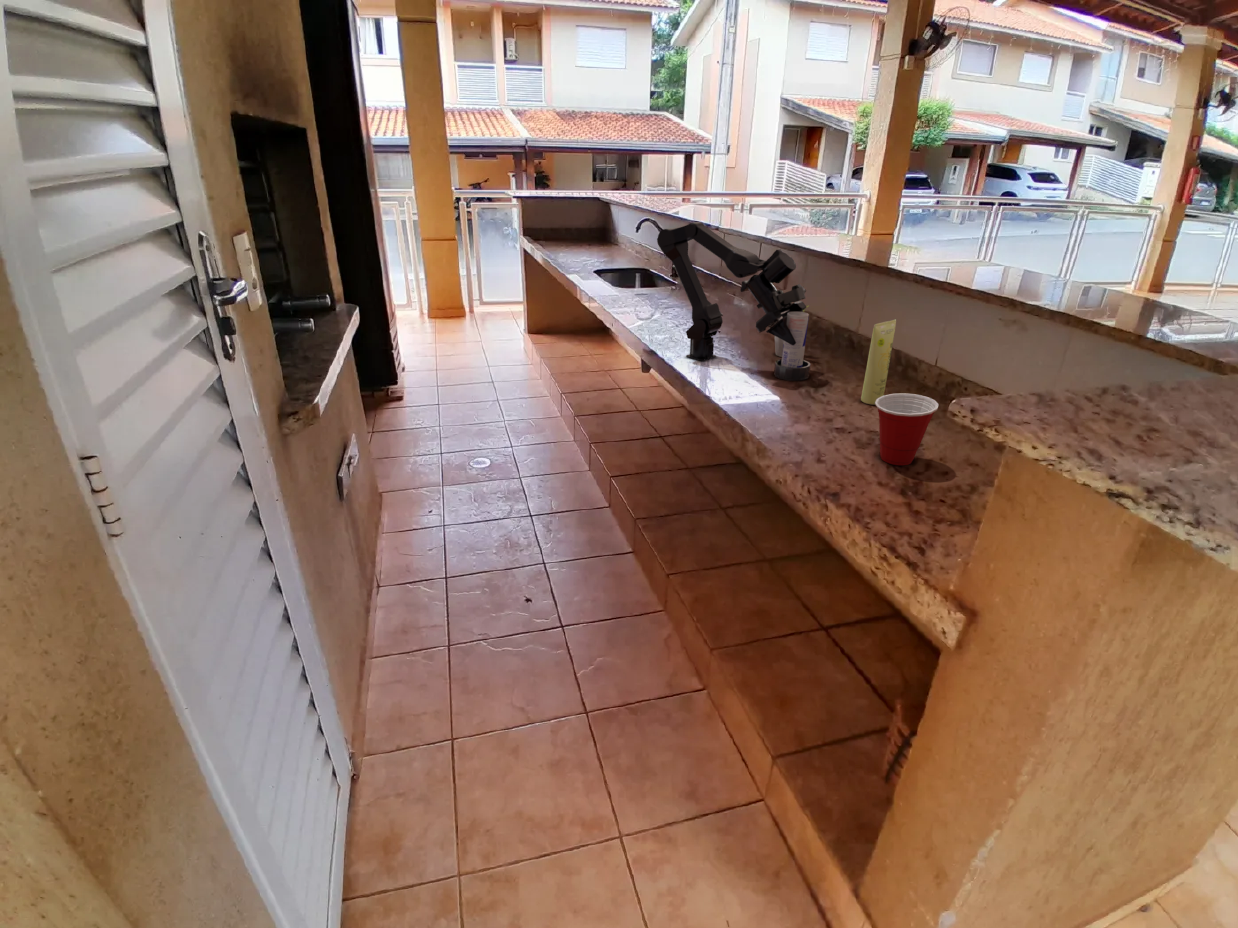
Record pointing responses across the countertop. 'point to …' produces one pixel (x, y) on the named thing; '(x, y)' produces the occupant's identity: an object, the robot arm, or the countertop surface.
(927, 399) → the plastic cup
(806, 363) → the can holder
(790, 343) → the robot arm
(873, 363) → the tube
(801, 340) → the beverage can
